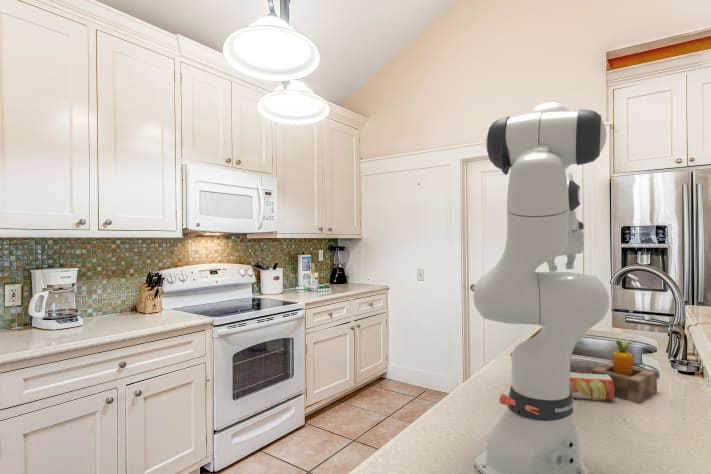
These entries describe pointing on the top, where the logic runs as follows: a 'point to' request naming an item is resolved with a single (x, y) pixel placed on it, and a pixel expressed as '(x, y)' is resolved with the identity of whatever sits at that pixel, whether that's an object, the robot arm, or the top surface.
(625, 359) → the carrot
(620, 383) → the socket block
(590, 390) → the snack package
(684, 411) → the top surface
